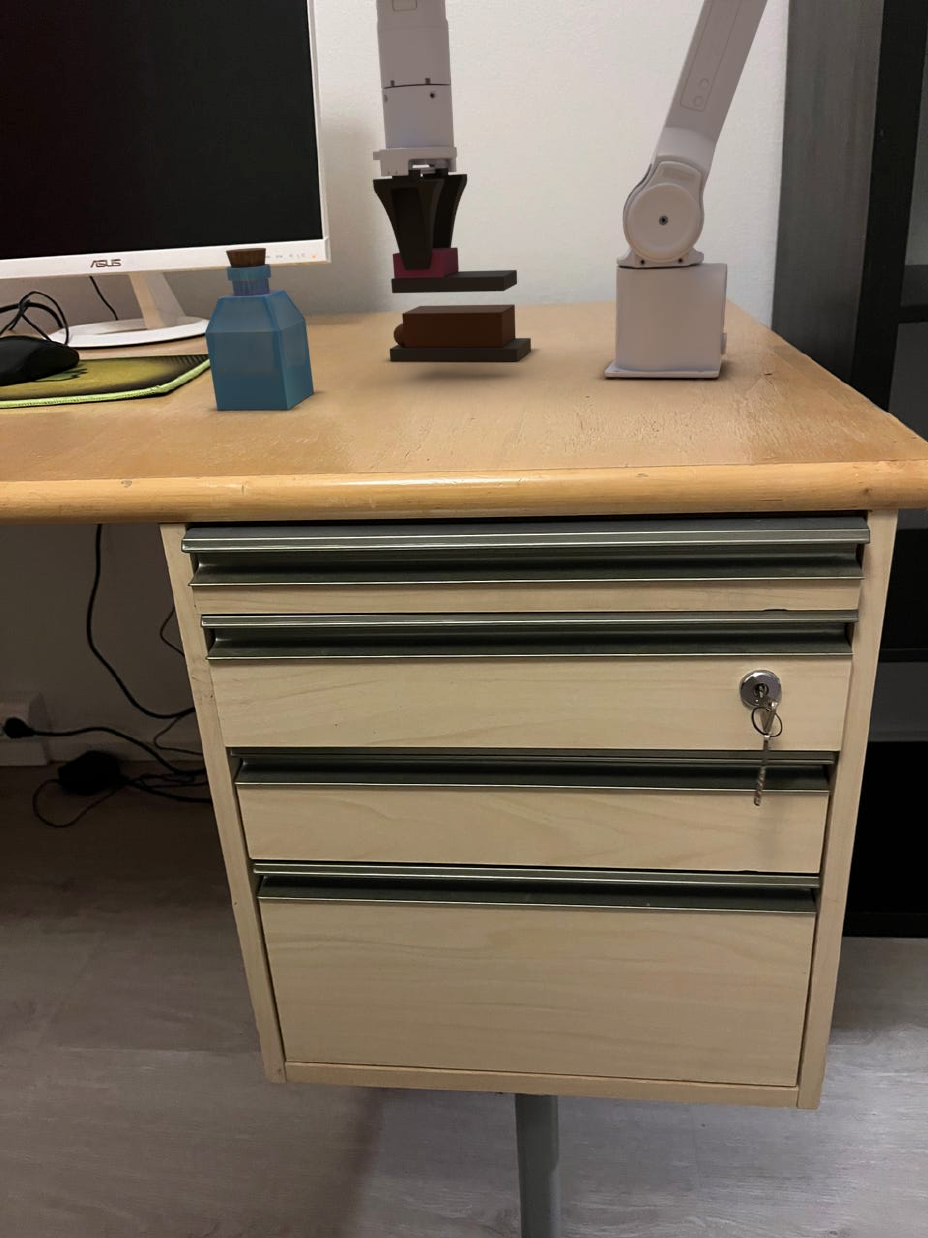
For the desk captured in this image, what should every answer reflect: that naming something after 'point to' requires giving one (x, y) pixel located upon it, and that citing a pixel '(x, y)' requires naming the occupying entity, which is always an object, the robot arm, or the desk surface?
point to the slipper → (448, 276)
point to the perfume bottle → (257, 341)
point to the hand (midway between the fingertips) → (427, 266)
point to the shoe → (459, 334)
